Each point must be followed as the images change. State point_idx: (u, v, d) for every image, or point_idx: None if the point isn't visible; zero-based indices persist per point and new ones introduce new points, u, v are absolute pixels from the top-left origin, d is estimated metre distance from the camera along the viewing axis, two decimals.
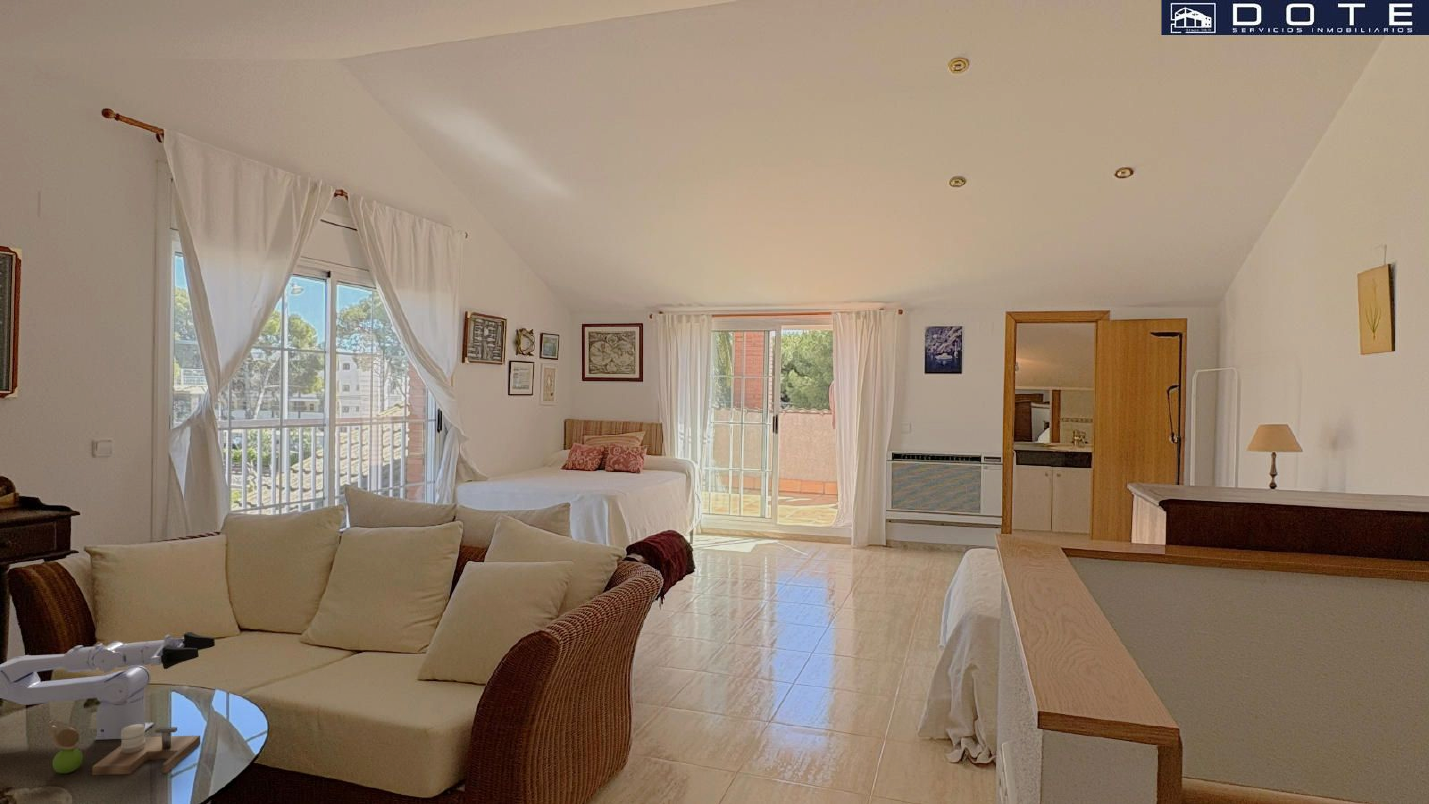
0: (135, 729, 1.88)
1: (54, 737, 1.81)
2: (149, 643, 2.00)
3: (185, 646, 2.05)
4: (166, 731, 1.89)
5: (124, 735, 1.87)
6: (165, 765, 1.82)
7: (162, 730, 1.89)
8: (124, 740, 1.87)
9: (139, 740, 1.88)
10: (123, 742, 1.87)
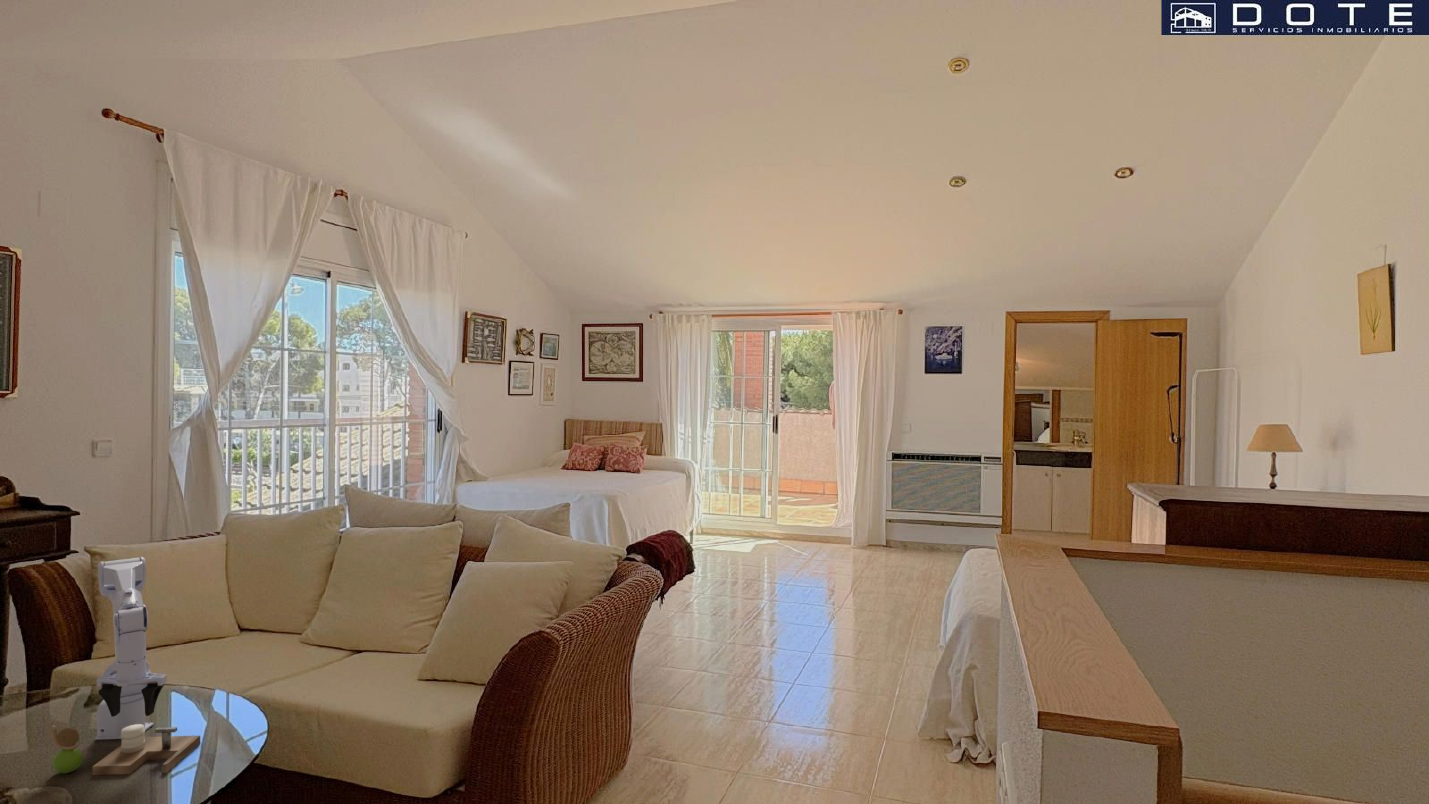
0: (135, 729, 1.88)
1: (54, 737, 1.81)
2: (120, 666, 1.85)
3: None
4: (166, 731, 1.89)
5: (124, 735, 1.87)
6: (165, 765, 1.82)
7: (162, 730, 1.89)
8: (124, 740, 1.87)
9: (139, 740, 1.88)
10: (123, 742, 1.87)
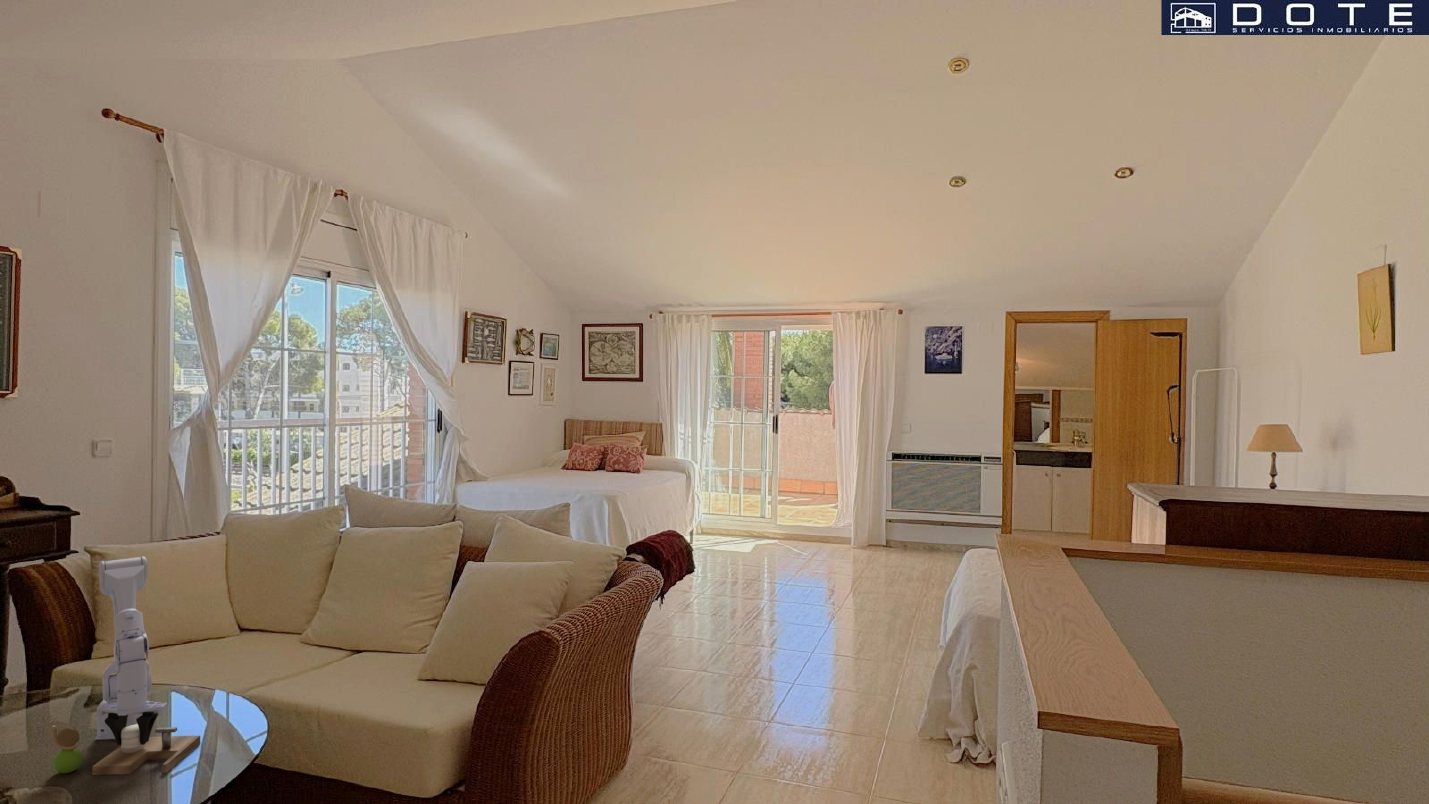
0: (135, 729, 1.88)
1: (54, 737, 1.81)
2: (120, 695, 1.86)
3: None
4: (166, 731, 1.89)
5: (124, 735, 1.87)
6: (165, 765, 1.82)
7: (162, 730, 1.89)
8: (124, 740, 1.87)
9: (139, 740, 1.88)
10: (123, 742, 1.87)
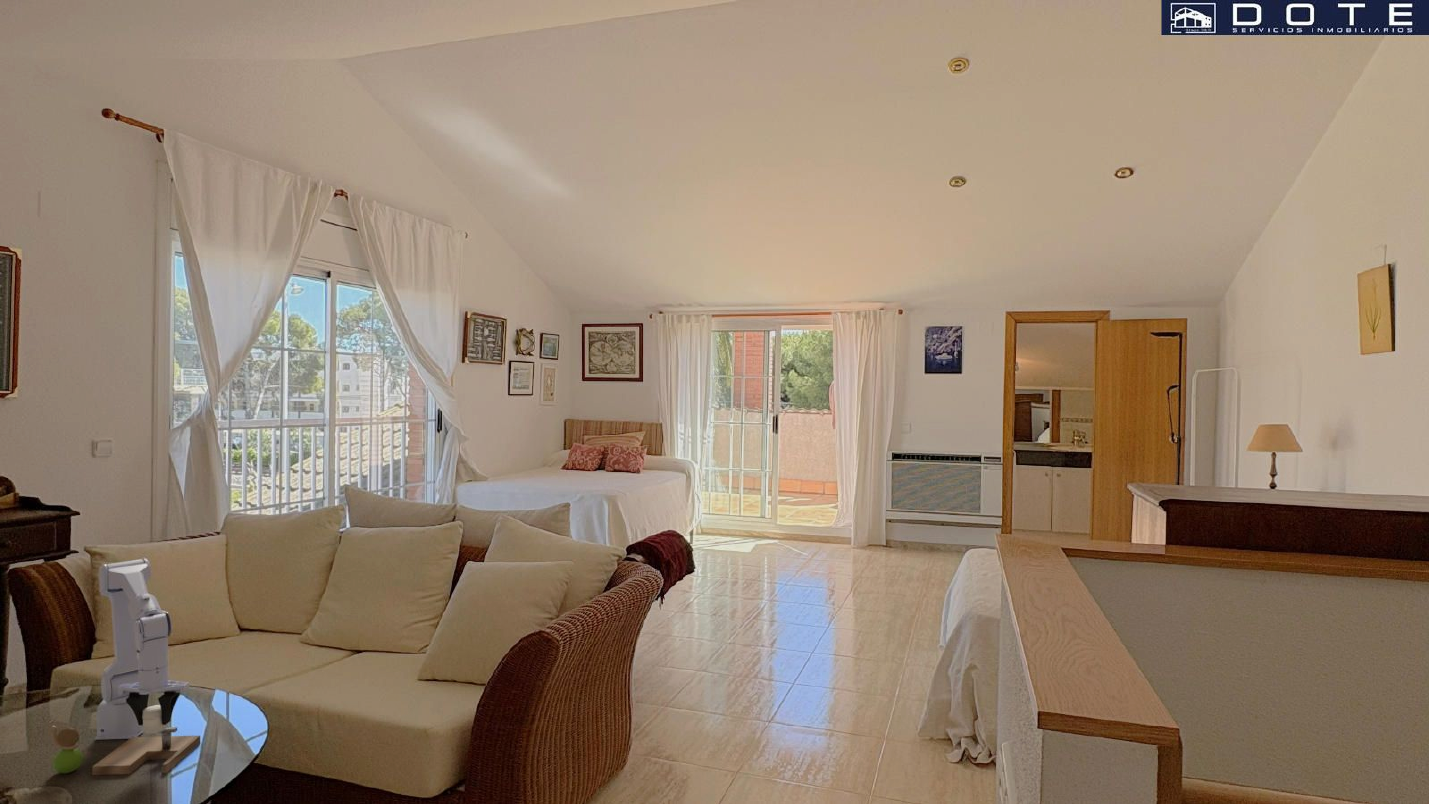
0: (157, 710, 1.84)
1: (54, 737, 1.81)
2: (142, 674, 1.82)
3: None
4: (166, 731, 1.89)
5: (146, 715, 1.83)
6: (165, 765, 1.82)
7: None
8: (146, 721, 1.83)
9: (160, 721, 1.84)
10: (145, 723, 1.83)
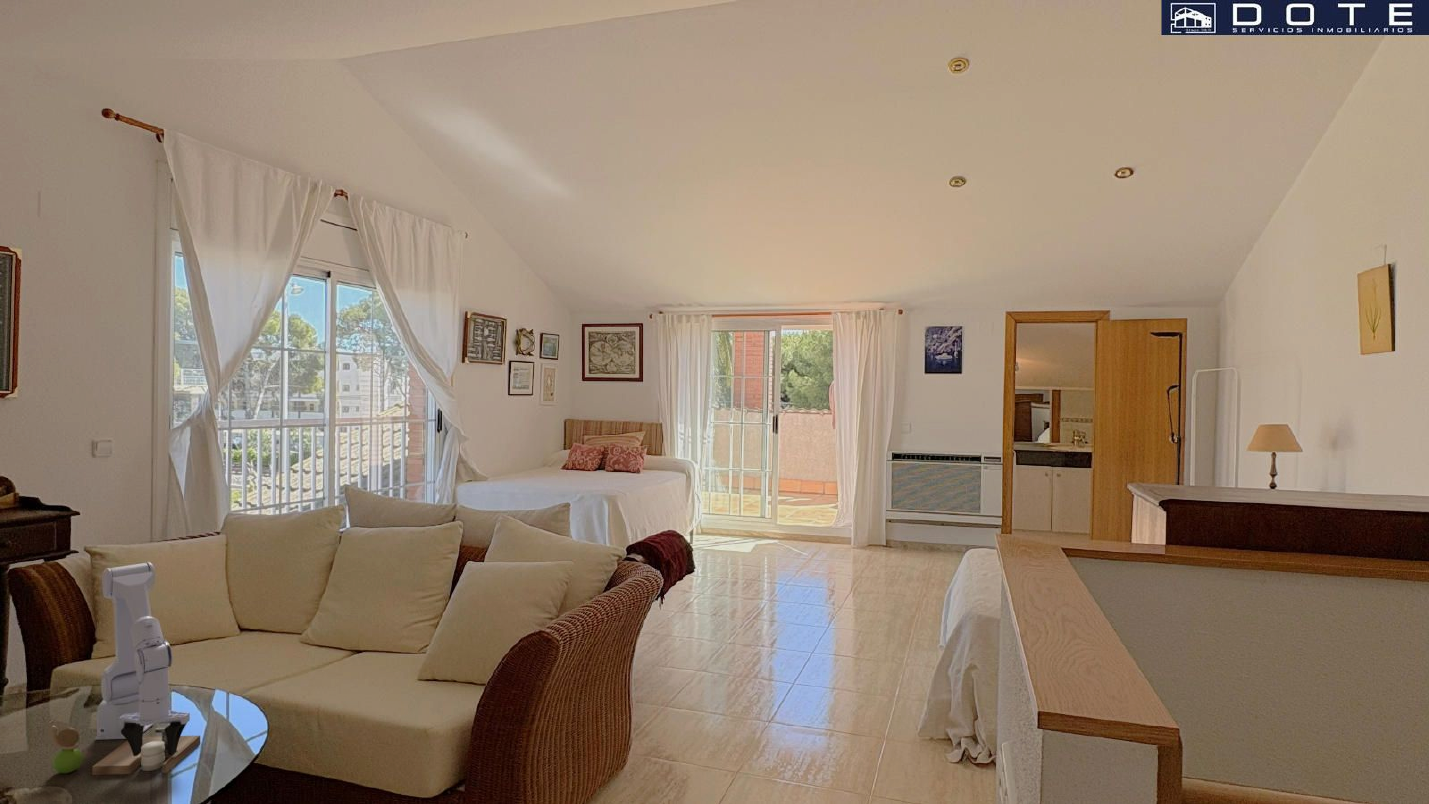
0: (155, 746, 1.85)
1: (54, 737, 1.81)
2: (142, 705, 1.82)
3: None
4: None
5: (144, 752, 1.83)
6: (165, 765, 1.82)
7: (162, 730, 1.89)
8: (144, 758, 1.83)
9: (159, 757, 1.85)
10: (143, 759, 1.83)
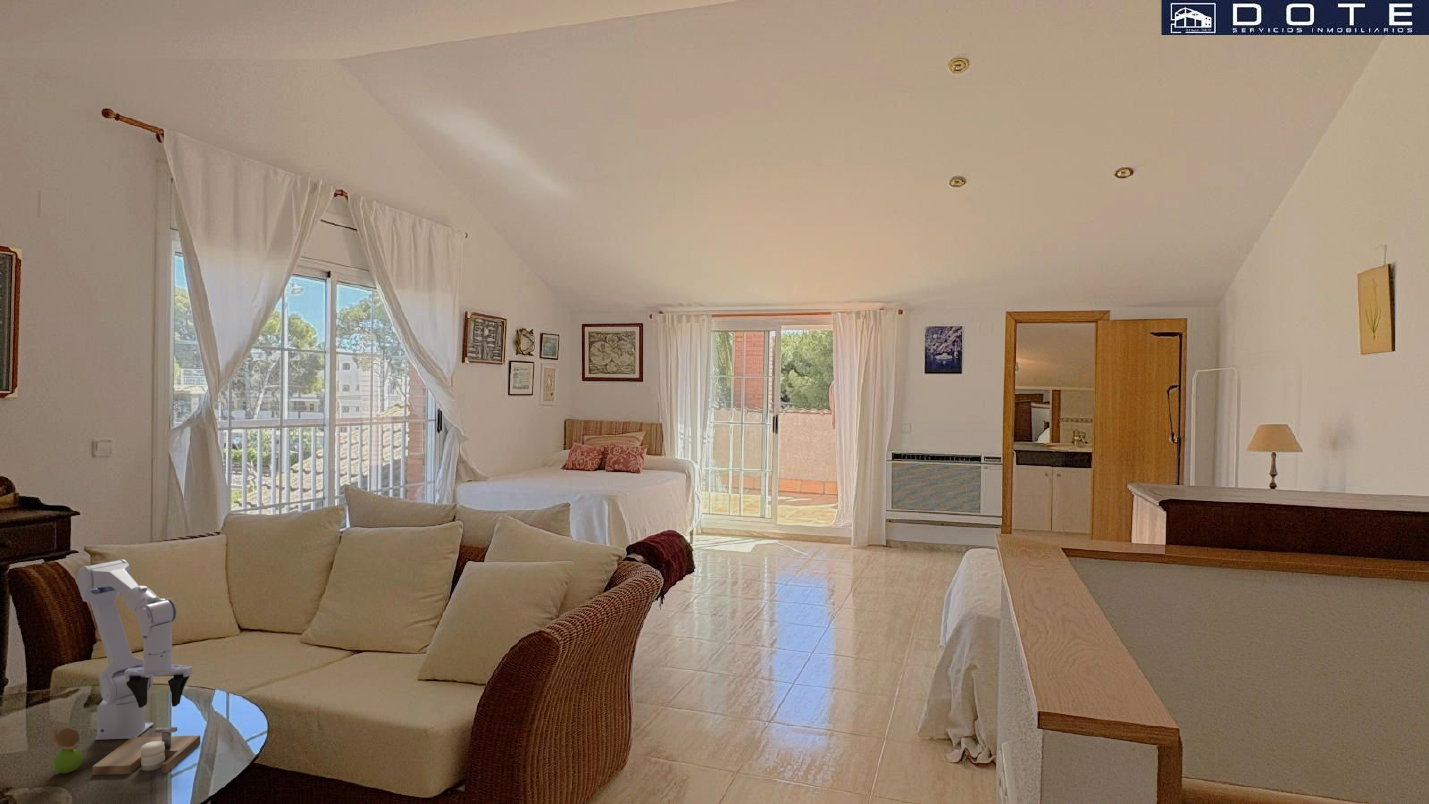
0: (155, 746, 1.85)
1: (54, 737, 1.81)
2: (147, 658, 1.90)
3: None
4: (166, 731, 1.89)
5: (144, 752, 1.83)
6: (165, 765, 1.82)
7: (162, 730, 1.89)
8: (144, 758, 1.83)
9: (159, 757, 1.85)
10: (143, 759, 1.83)
